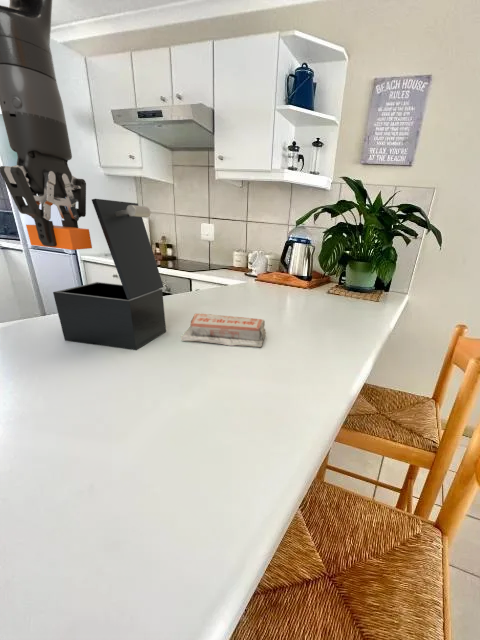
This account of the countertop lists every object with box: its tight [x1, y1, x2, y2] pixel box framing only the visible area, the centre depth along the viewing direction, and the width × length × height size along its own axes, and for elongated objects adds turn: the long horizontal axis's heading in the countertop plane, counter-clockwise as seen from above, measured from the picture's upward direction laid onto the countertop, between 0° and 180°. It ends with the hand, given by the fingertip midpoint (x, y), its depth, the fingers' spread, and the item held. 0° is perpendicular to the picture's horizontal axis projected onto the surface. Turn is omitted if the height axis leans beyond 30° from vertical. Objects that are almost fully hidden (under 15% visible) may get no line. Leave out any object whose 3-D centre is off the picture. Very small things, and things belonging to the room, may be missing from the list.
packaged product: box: [180, 313, 267, 348], centre depth 74 cm, size 18×5×10 cm
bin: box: [52, 281, 167, 351], centre depth 69 cm, size 16×13×10 cm
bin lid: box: [91, 198, 164, 299], centre depth 62 cm, size 16×13×5 cm
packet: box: [25, 224, 93, 251], centre depth 53 cm, size 8×4×3 cm, turn 81°
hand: (61, 244), depth 54 cm, fingers closed on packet, 4 cm apart
